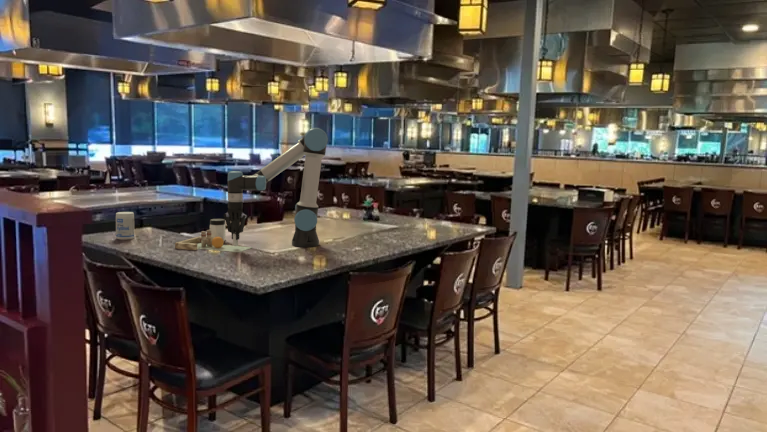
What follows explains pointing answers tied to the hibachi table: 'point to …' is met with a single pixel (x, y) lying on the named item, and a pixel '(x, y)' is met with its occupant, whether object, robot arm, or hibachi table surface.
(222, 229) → the jar
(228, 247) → the pale green board
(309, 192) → the robot arm
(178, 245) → the backstop
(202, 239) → the pin rear left
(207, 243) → the pin front
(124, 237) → the supplement tub
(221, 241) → the ball
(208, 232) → the pin rear right
